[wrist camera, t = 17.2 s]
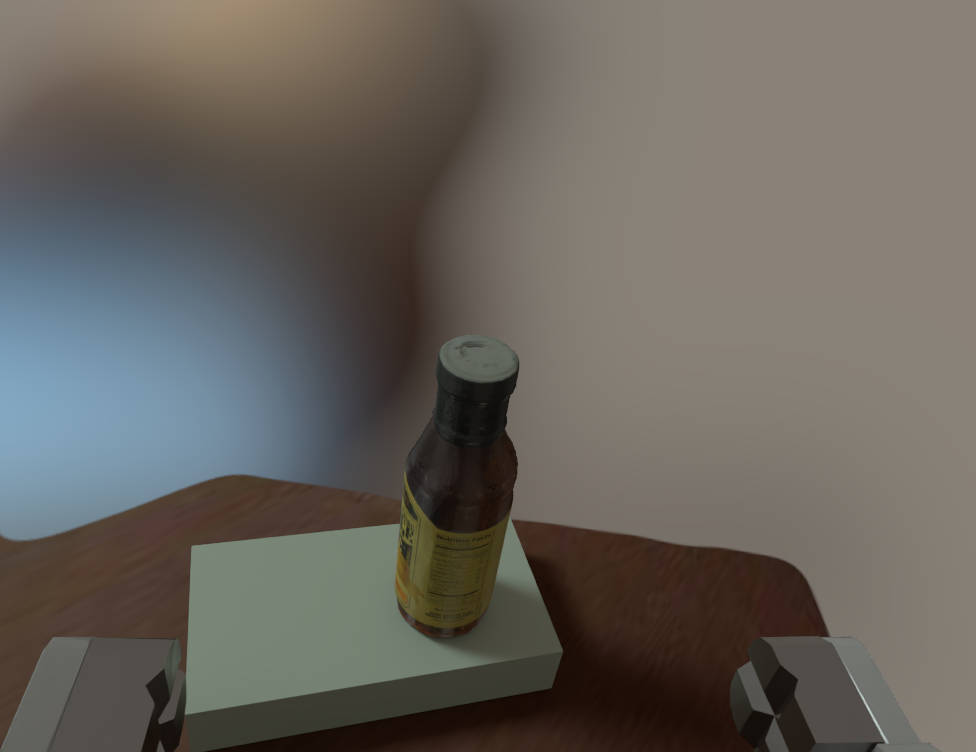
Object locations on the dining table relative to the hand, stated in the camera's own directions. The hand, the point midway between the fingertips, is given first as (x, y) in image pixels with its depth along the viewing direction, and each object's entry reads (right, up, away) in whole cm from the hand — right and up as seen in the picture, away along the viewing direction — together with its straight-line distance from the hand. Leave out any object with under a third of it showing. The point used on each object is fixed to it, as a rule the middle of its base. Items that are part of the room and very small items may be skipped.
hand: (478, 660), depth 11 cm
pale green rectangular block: (-8, -13, +40) cm, 43 cm away
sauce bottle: (-3, -11, +38) cm, 40 cm away
